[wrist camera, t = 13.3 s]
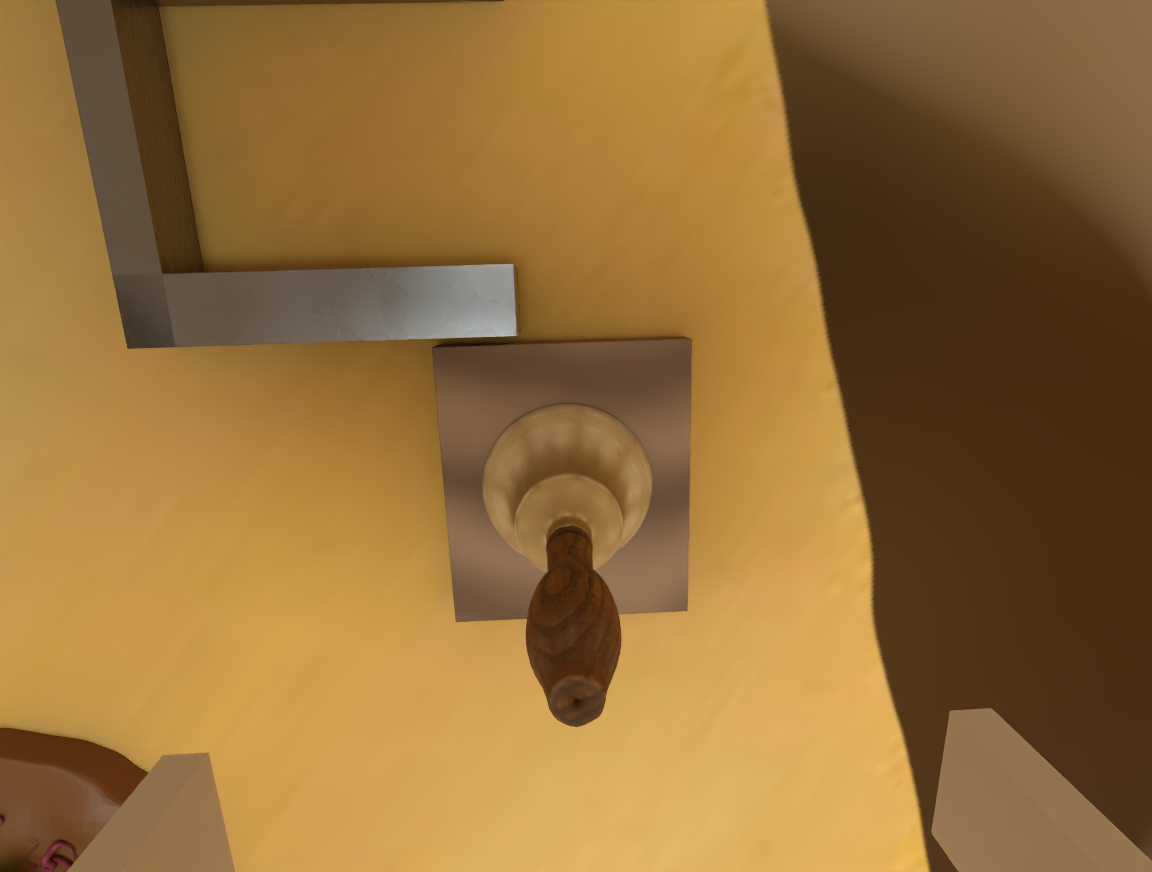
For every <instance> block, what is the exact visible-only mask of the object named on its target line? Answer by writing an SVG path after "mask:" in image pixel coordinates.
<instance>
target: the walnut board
mask: <svg viewBox="0 0 1152 872" xmlns="http://www.w3.org/2000/svg"><path fill="white" fill-rule="evenodd" d="M691 349H692V339H690V338H686V337H670V338H640V339H610V340H580V341H549V342H519V343H489V344H459V345H437V346H435V347H433V348H432V354H433V366H434V377H435V389H436V400H437V412H438V423H439V435H440V446H441V458H442V470H443V481H444V493H445V504H446V516H447V527H448V539H449V550H450V562H451V573H452V585H453V597H454V608H455V620H456V622H468V621H488V620H509V619H527V616H528V609H529V606H530V602H531V599H532V597H533V594H534V592H535V589H536V587H537V585H538V583H539V581H540V580H541V579H542V577H543V576H544V575H545V574H546V572H544V571H542V570H540V569H539V568H537V567H536V566H534V565H533V564H532V563H531V562H530V561H529V560H528V559H527V558H526V557H525V556H523V555H522V554H520V553H518V552H517V551H515V550H514V549H513V548H512V547H511V546H509V545H508V544H507V543H506V542H505V541H504V540H503V539H502V538H501V537H500V535H499V534H498V533H497V531H496V530H495V528H494V527H493V525H492V523H491V521H490V520H489V517H488V515H487V512H486V509H485V506H484V501H483V495H482V478H483V471H484V467H485V463H486V460H487V457H488V455H489V453H490V450H491V448H492V446H493V444H494V443H495V442H496V440H497V439H498V438H499V437H500V435H501V434H502V433H503V432H504V431H505V430H506V428H508V427H509V426H510V425H511V424H513V423H514V422H515V421H516V420H518V419H519V418H521V417H522V416H524V415H526V414H527V413H530V412H532V411H534V410H537V409H539V408H543V407H547V406H551V405H558V404H576V405H583V406H588V407H593V408H596V409H599V410H601V411H603V412H605V413H608V414H609V415H611V416H613V417H615V418H616V419H618V420H619V421H621V422H622V423H623V424H624V425H625V426H626V427H628V428H629V429H630V430H631V432H632V433H633V434H634V435H635V436H636V438H637V439H638V441H639V442H640V444H641V445H642V447H643V449H644V451H645V453H646V455H647V458H648V460H649V464H650V468H651V473H652V496H651V502H650V506H649V509H648V512H647V515H646V517H645V519H644V521H643V523H642V525H641V526H640V528H639V530H638V531H637V532H636V534H635V535H634V536H633V537H632V538H631V539H630V541H629V542H628V543H626V544H625V545H624V546H623V547H622V548H621V549H619V550H618V551H617V552H615V553H614V555H613V556H612V557H611V558H610V559H609V560H608V561H607V562H606V563H605V564H604V565H603V566H602V567H600V568H599V569H597V570H595V571H596V572H597V573H598V574H599V575H600V576H601V577H602V579H603V580H604V581H605V583H606V584H607V586H608V588H609V590H610V592H611V594H612V596H613V598H614V601H615V604H616V607H617V610H618V614H635V613H655V612H676V611H687V606H688V542H689V477H690V413H691Z"/></svg>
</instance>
